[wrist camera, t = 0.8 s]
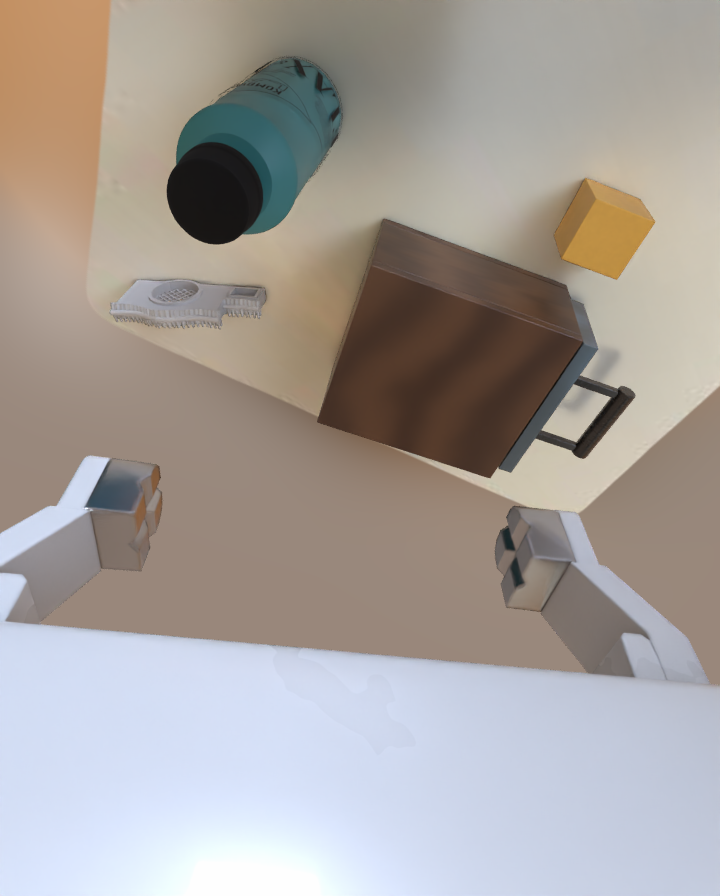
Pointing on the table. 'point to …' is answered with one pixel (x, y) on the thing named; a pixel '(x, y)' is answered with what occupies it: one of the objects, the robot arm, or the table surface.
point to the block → (602, 229)
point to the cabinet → (447, 351)
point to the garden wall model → (186, 303)
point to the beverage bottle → (253, 152)
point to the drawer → (558, 392)
